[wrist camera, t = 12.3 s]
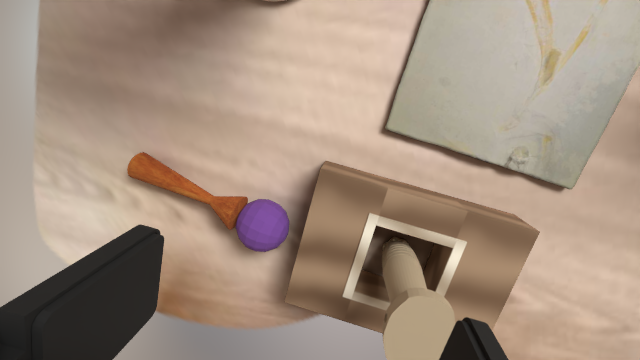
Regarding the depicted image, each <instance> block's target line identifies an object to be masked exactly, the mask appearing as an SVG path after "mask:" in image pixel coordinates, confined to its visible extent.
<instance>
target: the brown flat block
mask: <svg viewBox="0 0 640 360" xmlns="http://www.w3.org/2000/svg"><path fill="white" fill-rule="evenodd" d="M376 225H377V226H380V227H383V228H387V229H390V230H394V231H397V232H400V233H404V234H407V235H410V236H414V237H417V238H421V239H424V240H427V241H431V242H434V243H435V244H434V247H433V249H432V252H431V254H430V257H429V259H428V262H427V264H426V267H425V269H424V272H423V276H424V279H425V283H426V287H427V289H429V290H432V291H434V292H437V293H439V294H440V295H442V296H443V297H444V298H445V299H446V300H447V301H448V302H449V303H450V305H451V307H452V309H453V311H454V316H455V324H456V322H457V321H458V320H461V321H462V320H463V319H464V318H465V317H468V318H472V319H475V320H479V321H482V322H485V323H487V324H488V325H489V327H490V329H491V330H493V328H494V325H495V323H496V321H497V319H498V317H499V315H500V313H501V311H502V309H503V307H504V305H505V303H506V301H507V299H508V297H509V295H510V292H511V290H512V288H513V286H514V284H515V282H516V280H517V278H518V276H519V274H520V272H521V270H522V268H523V266H524V264H525V262H526V259H527V257H528V255H529V253H530V251H531V249H532V247H533V245H534V243H535V241H536V239H537V237H538V235H539V233H540V232H539V231H538V230H536V229H535V228H533V227H532V226H530V225H529V224H527V223H526V222H524V221H523V220H521V219H520V218H519V217H517V216H516V215H514V214H510V213H507V212H503V211H500V210H496V209H493V208H489V207H486V206H482V205H479V204H475V203H472V202H468V201H465V200H461V199H458V198H454V197H451V196H447V195H444V194H440V193H437V192H433V191H430V190H426V189H423V188H419V187H416V186H412V185H409V184H405V183H402V182H398V181H395V180H391V179H388V178H384V177H381V176H377V175H374V174H370V173H367V172H363V171H360V170H356V169H353V168H349V167H346V166H342V165H339V164H336V163H332V162H329V161H325V163H324V164H323V166H322V167H321V169H320V172H319V176H318V180H317V183H316V187H315V191H314V194H313V198H312V202H311V205H310V209H309V213H308V216H307V220H306V224H305V227H304V231H303V235H302V238H301V242H300V246H299V249H298V253H297V257H296V260H295V264H294V268H293V271H292V275H291V279H290V283H289V286H288V290H287V294H286V297H285V301H284V302H286V303H289V304H292V305H295V306H298V307H301V308H304V309H308V310H311V311H314V312H317V313H320V314H323V315H327V316H330V317H333V318H336V319H339V320H342V321H346V322H349V323H352V324H355V325H358V326H361V327H364V328H368V329H371V330H374V331H377V332H380V333H383V332H382V325H383V321H384V317H385V312H386V310H387V308H388V307H389V305H390V300H389V296H388V292H387V288H386V285H385V281H384V277H383V276H380V275H376V274H373V273H370V272H367V271H363V270H361V269H362V266H363V263H364V260H365V257H366V254H367V251H368V248H369V245H370V242H371V239H372V236H373V233H374V230H375V227H376Z"/></svg>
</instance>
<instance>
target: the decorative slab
mask: <svg viewBox="0 0 640 360" xmlns="http://www.w3.org/2000/svg"><path fill="white" fill-rule="evenodd" d="M639 65H640V0H430V1H429V4H428V7H427V9H426V11H425V14H424V16H423V19H422V21H421V24H420V27H419V30H418V33H417V36H416V39H415V42H414V45H413V48H412V51H411V53H410V56H409V59H408V63H407V66H406V69H405V71H404V73H403V75H402V79H401V82H400V84H399V87H398V90H397V93H396V96H395V99H394V102H393V105H392V109H391V112H390V115H389V119H388V122H387V124H386V126H385V129H387V130H390V131H392V132H395V133H398V134H401V135H404V136H407V137H410V138H413V139H416V140H419V141H423V142H427V143H431V144H435V145H438V146H441V147H444V148H447V149H449V150H452V151H455V152H458V153H461V154H464V155H467V156H470V157H474V158H477V159H479V160H483V161H485V162H488V163H491V164H496V165H499V166H502V167H505V168H508V169H511V170H514V171H517V172H520V173H523V174H526V175H529V176H532V177H533V178H536V179H541V180H544V181H547V182H550V183H553V184H556V185H559V186H562V187H564V188H567V189H572V188H573V187H574V186H575V184H576V182H577V180H578V178H579V176H580V174H581V172H582V170H583V168H584V167H585V165H586V163H587V161H588V159H589V157H590V156H591V154H592V152H593V150H594V148H595V147H596V145H597V143H598V141H599V139H600V138H601V136H602V134H603V132H604V130H605V128H606V126H607V124H608V122H609V120H610V118H611V116H612V114H613V113H614V111H615V109H616V107H617V105H618V103H619V102H620V100H621V98H622V96H623V95H624V93H625V91H626V89H627V87H628V85H629V83H630V81H631V79H632V77H633V75H634V73H635V72H636V70H637V69H638V67H639Z"/></svg>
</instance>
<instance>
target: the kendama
mask: <svg viewBox="0 0 640 360" xmlns="http://www.w3.org/2000/svg"><path fill="white" fill-rule="evenodd" d="M127 171H128V175H129V176H130V177H132V178H135V179H138V180H141V181H144V182H147V183H149V184H152V185H155V186H158V187H161V188H164V189H167V190H169V191H172V192H175V193H178V194H181V195H184V196H186V197H189V198H192V199H195V200H198V201H201V202H204V203H206V204H209V205H210V206H211V207H212V208H213V210H214V211H215V212H216V213H217V215H218V216H219V217H220V219H221V220H222V221H223V223H224V224H225V225H226V226H227V228H228V229H229V230H231V229H233V228H234V227H235V226H236V229H237V233H238V237H239V239H240V240H241V242H242V243H243V244H244V245H245V246H246V247H247V248H249V249H252V250H254V251H261V252H266V251H269V250H272V249H275V248H277V247H278V246H279V245H280V244H281V243H282V242H283V241H284V240H285V239H286V237H287V235H288V231H289V219H288V216H287V213H286V211H285V210H284V209H283V208H282V207H281V206H280V205H279V204H277V203H275V202H273V201H271V200H266V199H258V200H255V201H253V202H250V203H248V204H247V202H248V198H247V197H220V196H213V195H211V194H210V193H208V192H207V191H205V190H203V189H202V188H200V187H199V186H197V185H196V184H194V183H192V182H191V181H189V180H188V179H186V178H184V177H183V176H181V175H180V174H178V173H177V172H175V171H173V170H172V169H170V168H169V167H167V166H165V165H164V164H162V163H161V162H159V161H158V160H156V159H154V158H153V157H151V156H150V155H148V154H146V153H144V152H143V153H139V154H137V155H135V156H134V157H133V158H132V160H131V161H130V163H129V165H128V169H127Z"/></svg>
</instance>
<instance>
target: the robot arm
mask: <svg viewBox="0 0 640 360" xmlns="http://www.w3.org/2000/svg"><path fill="white" fill-rule="evenodd" d="M264 1H274V2H277V1H285V0H264ZM163 246H164V237H163V236H162V235H160V231H159V230H158V229H155V228H151V227H148V226H144V225H138V226H136V227H134V228H132V229H131V230H129V231H127V232H126V233H124V234H122V235H121V236H119V237H117V238H116V239H114V240H112V241H111V242H109V243H107V244H106V245H104V246H102V247H101V248H99V249H97V250H95V251H94V252H92V253H90V254H89V255H87V256H85V257H84V258H82V259H80V260H79V261H77V262H75V263H74V264H72V265H70V266H69V267H67V268H65V269H64V270H62V271H60V272H59V273H57V274H55V275H54V276H52V277H50V278H49V279H47V280H45V281H44V282H42V283H40V284H39V285H37V286H35V287H34V288H32V289H31V290H29V291H27V292H25V293H24V294H22V295H21V296H18V297H17V298H15V299H13V300H12V301H10V302H8V303H7V304H5V305H3V306H2V307H0V360H112V359H114V357H115V356H116V355H117V354H118V353H119V352H120V351H121V350H122V349H123V348H124V346H125V345H126V344H127V343H128V342H129V341H130V340H131V339H132V338H133V337H134V336H135V335H136V334H137V332H138V331H139V330H140V329H141V328H142V327H143V326H144V325H145V324H146V323H147V321H148V320H149V319H150V318H151V317H152V316H153V314H154V312H155V310H156V307H157V300H158V291H159V282H160V273H161V264H162V255H163ZM439 360H508V358H507V356H506V355H505V353H504V351H503V349H502V348H501V346H500V344H499V343H498V341H497V339H496V337H495V336H494V334H493V332H492V330H491V329H490V327H489V325H488V324H487V323H485V322H482V321H479V320H475V319H472V318H468V317H465V318H464V319H463V320H462V321H461V320H458V321H457V322H456V324H455V326H454V328H453V330H452V332H451V334H450V337H449V339H448V341H447V343H446V345H445V347H444V350H443V352H442V354H441V356H440V358H439Z"/></svg>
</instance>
